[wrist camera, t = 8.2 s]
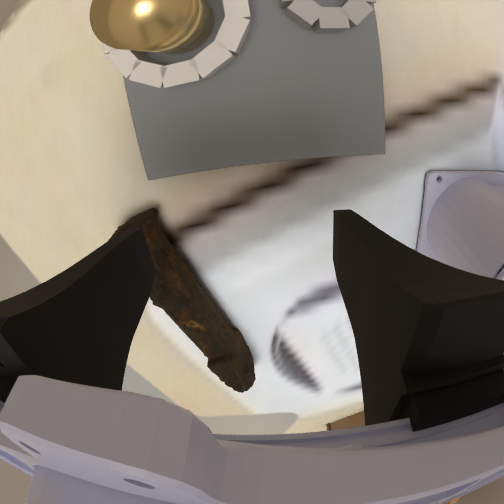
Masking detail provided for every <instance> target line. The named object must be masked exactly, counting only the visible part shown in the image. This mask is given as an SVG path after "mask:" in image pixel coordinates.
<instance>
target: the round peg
mask: <svg viewBox="0 0 504 504" xmlns="http://www.w3.org/2000/svg"><path fill="white" fill-rule="evenodd" d="M90 23H91V27H92V30H93V32H94V34H95V35H96V36H97V38H98V39H99V40H100V41H101V42H103V43H104V44H106V45H107V46H109V47H112V48H115V49H121V50H136V51H147V52H156V53H165V54H173V55H178V54H185V53H188V52H191V51H193V50H195V49H197V48H198V47H200V46H201V45H202V44H203V43H204V42H205V41H206V40H207V39H208V38H209V36H210V34H211V32H212V30H213V27H214V13H213V10H212V8H211V6H210V5H209V3H208V2H207V1H206V0H93V1H92V4H91V8H90Z"/></svg>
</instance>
